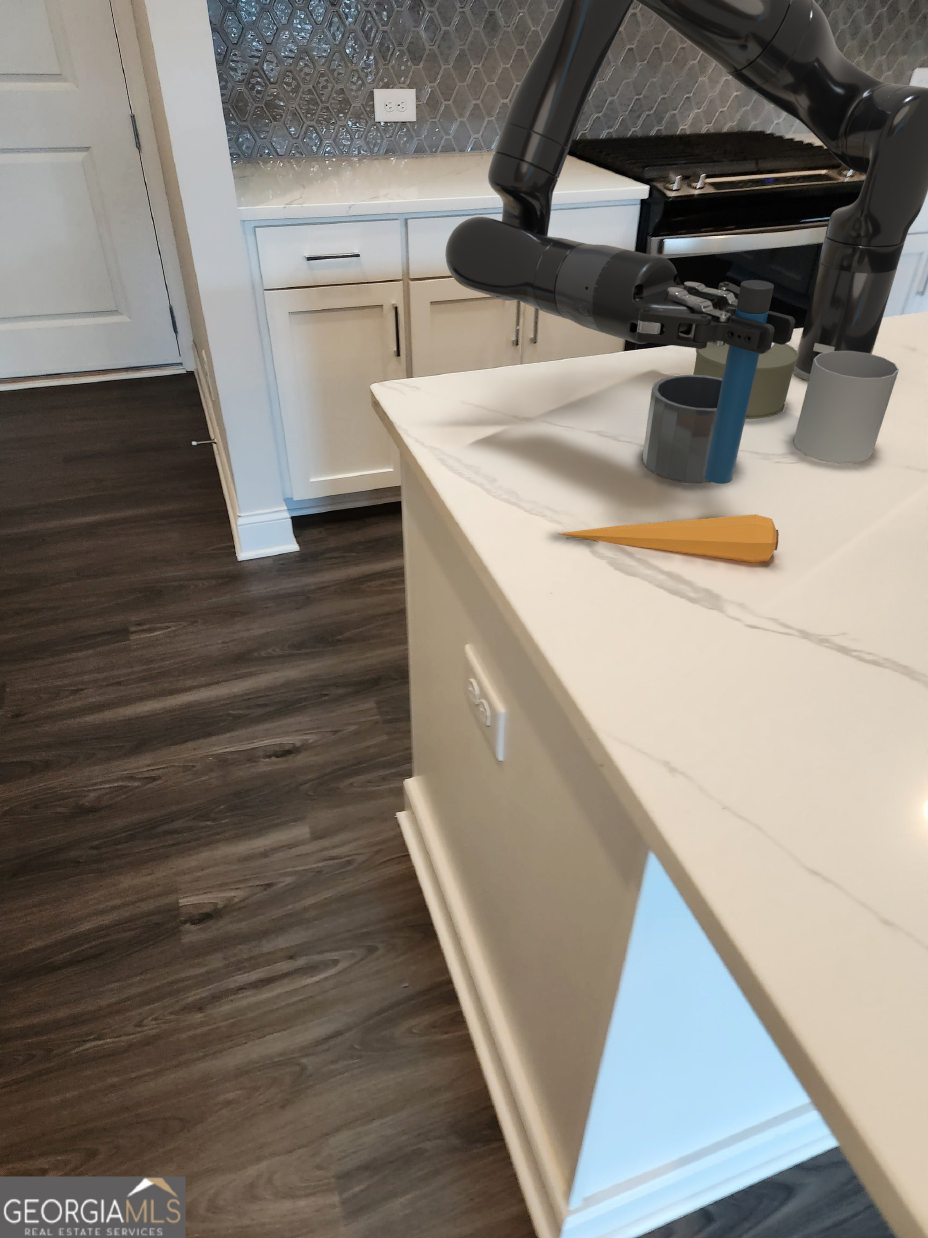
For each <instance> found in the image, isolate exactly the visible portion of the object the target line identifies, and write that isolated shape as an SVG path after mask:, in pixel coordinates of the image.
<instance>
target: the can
mask: <svg viewBox="0 0 928 1238" xmlns="http://www.w3.org/2000/svg"><path fill="white" fill-rule="evenodd" d="M728 348H729V345H728V344H726V343H725V345H723V346H715V345H713V344H710V343H707V347H706V348H703V349H696V348H695V362H694V368H693V374H692V375H706V376H712V377H718V378H722V379H723V374H724V369H725V364H726V358H727V353H728ZM797 352H798V350H796V349H795V348H794V347H793V346H791V345H789V344H788V343H786V344H783V345H780V344H776V343H772V345H771V348H770V350H769V351H767V352H765V353H763V354H760V353H759V358H758V363H757V367H756V372H755V376H754V381H753V386H752V390H751V395H750V399H749V404H748V409H747V413H746V418H745V420H757V419H758V420H759V419H766V418H770V417H773V416H776V415H778V414H780V413H783V412H784V409H785V405H786V404H785V403H786V400H787V397H788V393H789V389H790V385H791V381H792V377H793V374H794V371H793V369H794V366H795V363H796V362H797V359H798V353H797Z"/></svg>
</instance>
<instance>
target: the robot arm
mask: <svg viewBox="0 0 928 1238" xmlns="http://www.w3.org/2000/svg"><path fill="white" fill-rule="evenodd" d="M634 2H636V3H637V4H639V5H641V6H642V7H644V8H646V9H647V10H649V11H650V12H651V13H653V14H654V15H655V16H657V17H658V18H659V19H660V20H662V21H663V22H664V23H665V24H666V25H667V26H668V27H670V29H672V30H673V31H675V33H676V34H678V35H679V36H680V37H682V39H684V40H686V41H687V42H688V43H689V44H691V45H692V46H693V47H694V48H695V49H697V51H700V53H702V54H704V55H705V57H707V58H708V59H710V60H711V61H712V62H713V63H715V65H716V66H718V67H719V68H720V69H721V70H722V71H724V72H726V74H728V75H729V76H730V77H732V78H733V79H735V80H736V81H737V82H739V83H740V84H741V85H743V86H744V87H745V88H747V89H748V90H749V91H751V92H753V93H754V94H756V95H757V96H759V97H761V98H762V99H763V100H765V101H767V103H769V104H771V105H772V106H773V107H775V108H777V109H779V110H780V111H782V112H784V113H786V114H787V115H789V116H791V117H793V118H795V119H796V120H798V121H799V122H800V123H801V124H802V125H803V126H805V127H806V128H807V129H808V130H809V131H810V133H812V134H813V135H814V136H815V137H816V138H817V139H818V141H819V142H821V144H822V145H823V146H824V147H825V148H826V149H827V150H829V152H830V153H831V154H832V155H833V157H835V158H836V159H837V161H839V162H840V163H841V164H842V165H843V166H845V167H846V168H848V169H849V170H851V171H853V172H855V173H858V174H863V175H865V177H864V181H863V184H862V187H861V190H860V192H859V195H858V197H857V199H856V200H855V201H854V202H852V203H851V204H849V205H846V206H841V207H839V208H837V209H835V210H834V211H833V212H832V213H831V214H830V217H829V219H828V223H827V226H826V231H825V235H824V239H823V242H822V247H821V251H820V256H819V260H818V264H817V269H816V273H815V277H814V281H813V285H812V289H811V294H810V297H809V301H808V302H809V303H808V307H807V310H806V314H805V319H804V323H803V327H802V332H801V336H800V340H799V344H798V348H797V353H798V359H797V362H796V363H795V366H794V369H793V374H795V375H796V376H797V377H799V378H801V379H803V380H806V381H809V377H810V373H811V369H812V365H813V361H814V358H816V357H817V356H818V355H819V354H822V353H826V352H831V351H854V352H862V353H869V354H872V355H873V352H874V348H875V345H876V342H877V338H878V335H879V331H880V328H881V325H882V321H883V318H884V314H885V311H886V307H887V305H888V301H889V298H890V294H891V290H892V288H893V283H894V280H895V278H896V274H897V270H898V266H899V263H900V259H901V256H902V253H903V250H904V246H905V243H906V239H907V236H908V233H909V230H910V229H911V227H912V225H913V224H914V222H916V220H917V219H918V216H919V215H920V213H921V211H922V209H923V206H924V203H925V201H926V198H927V196H928V87H926V86H919V85H909V84H901V83H900V84H899V83H892V82H887V81H883V80H880V79H878V78H876V77H874V76H873V75H871V74H870V73H868V72H866V71H864V70H863V69H862V68H860V67H858V66H857V65H856V64H854V63H853V62H851V61H850V60H849V59H848V58H847V57H845V56H844V54H843V53H842V52H841V51H840V49H839V47H838V45H837V43H836V41H835V38H834V34H833V31H832V27H831V26H830V23H829V21H828V18H827V16H826V14H825V13H824V11H823V10H822V8H821V6H819V4H818V3H817V2H816V1H815V0H561V3H560V5H559V8H558V10H557V13H556V15H555V17H554V20H553V22H552V24H551V25H550V27H549V29H548V32H547V33H546V35H545V37H544V40H543V41H542V43H541V44H540V46H539V48H538V50H537V52H536V53H535V55H534V57H533V58H532V60H531V62H530V64H529V66H528V68H527V70H526V71H525V73H524V75H523V77H522V79H521V81H520V82H519V85H518V87H517V88H516V91H515V93H514V96H513V98H512V100H511V102H510V105H509V107H508V110H507V113H506V116H505V119H504V122H503V124H502V128H501V130H500V134H499V137H498V140H497V143H496V146H495V149H494V153H493V155H492V158H491V161H490V165H489V168H488V173H487V180H488V184H489V186H490V188H491V189H492V190H493V192H495V193H496V194H497V195H498V196H499V197H500V199H501V201H502V212H501V220H498V219H495V218H492V217H489V216H488V217H487V216H474V217H470V218H467V219H465V220H463V221H462V222H461V223H459V224H458V225H456V226H455V228H454V229H453V230H452V232H451V234H450V235H449V237H448V239H447V242H446V246H445V251H444V252H445V263H446V266H447V269H448V271H449V273H450V275H451V277H452V278H453V279H454V280H455V281H456V282H457V283H458V284H459V285H460V286H462V287H464V288H465V289H469V290H472V291H474V292H478V293H481V294H483V295H486V296H489V297H493V298H496V299H498V300H501V301H507V302H509V301H511V302H512V301H518V302H521V303H523V304H525V305H528V306H529V307H532V308H535V309H536V310H538V311H541V312H543V313H546V314H550V315H553V316H556V317H559V318H562V319H565V320H569V321H571V322H574V323H575V324H577V325H579V326H581V327H583V328H586V329H589V330H592V331H596V332H599V333H603V334H606V335H608V336H612V337H615V338H618V339H622V340H626V341H628V342H631V343H635V344H641V345H643V344H649V343H650V344H658V345H666V346H674V347H683V348H690V349H695V350H696V349H703V348H706V347H707V343H710V344H713V345H715V346H723V345H725V343H726V344H728V345H731V346H735V347H739V348H742V349H746V350H749V351H753V352H756V353H760V354H763V353H765V352H767V351H769V350H770V348H771V345H772V343H776V344H780V345H783V344H788V343H790V342H791V340H792V339H793V333H794V329H795V325H796V320H795V318H794V317H793V316H791V315H787V314H782V313H780V312H776V311H771V310H769V311H768V316H767V321H766V323H762V322H758V321H755V320H751V319H747V318H742V317H739V316H735V312H736V308H737V301H738V296H739V291H740V286H737V285H736V284H733V283H731V282H729V281H723V282H720V283H719V285H718V289H716V288H712V287H708V286H706V285H705V284H704V283H700V282H697V281H685V282H684V283H683V284H682V283H681V280H680V278H679V276H678V272H677V269H676V267H675V265H674V264H673V263H672V262H671V261H670V259H667V258H665V257H662V256H657V255H654V254H649V253H644V252H640V251H636V250H631V249H626V248H621V247H617V246H612V245H608V244H591V243H585V242H580V241H576V240H571V239H568V238H563V237H555V236H550V235H549V229H550V221H551V214H552V203H553V195H554V191H555V189H556V186H557V184H558V181H559V178H560V176H561V173H562V171H563V169H564V168H563V167H564V165H565V162H566V159H567V157H568V154H569V151H570V148H571V146H572V143H573V140H574V137H575V134H576V132H577V129H578V126H579V123H580V121H581V118H582V116H583V114H584V110H585V108H586V106H587V103H588V101H589V98H590V95H591V93H592V91H593V88H594V86H595V84H596V81H597V79H598V77H599V74H600V72H601V70H602V68H603V66H604V64H605V62H606V59H607V57H608V55H609V53H610V50H611V48H612V46H613V44H614V42H615V41H616V38H617V36H618V34H619V32H620V30H621V28H622V26H623V24H624V21H625V19H626V18H627V15H628V13H629V12H630V10H631V8H632V5H633V3H634Z"/></svg>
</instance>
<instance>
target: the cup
mask: <svg viewBox="0 0 928 1238" xmlns="http://www.w3.org/2000/svg"><path fill="white" fill-rule="evenodd" d="M899 371H900V369H899V367H898V366H897V364H896V363H895V362H893V361H891V360H889V359H887V358H885V357H882V356H879V355H876V354H873V353H872V354H869V353H862V352H854V351H831V352H826V353H822V354H819V355H818V356H817V357H816V358H814V361H813V365H812V369H811V373H810V377H809V380H807V386H806V388H805V393H804V397H803V400H802V401H803V402H802V406H801V410H800V414H799V418H798V421H797V425H796V428H795V432H794V437H793V444H794V448H795V449H797V451H799V452H800V453H801V454H803V455H804V456H807V457H810V458H812V459H814V460H817V461H819V462H826V463H832V464H839V465H841V464H843V465H844V464H846V465H847V464H858V463H862V462H865V461H868V460H869V459H870V458H871V456H872V455H873V454H874V450H875V447H876V443H877V441H878V437H879V434H880V431H881V428H882V425H883V421H884V418H885V415H886V413H887V410H888V406H889V403H890V400H891V396H892V394H893V390H894V387H895V383H896V381H897V378H898V374H899Z"/></svg>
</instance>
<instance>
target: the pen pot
mask: <svg viewBox="0 0 928 1238" xmlns="http://www.w3.org/2000/svg"><path fill="white" fill-rule="evenodd" d="M721 384H722V378H718V377H712V376H706V375H693V374H679V375H671V376H667V377H664V378H661V379H659V380H658V381H656V382H655V383H653V385H652V388H651V394H650V400H649V406H648V407H649V408H648V414H647V422H646V430H645V436H644V444H643V452H642V462H643V465H644V466H645V467H646V469H648V470H649V471H651V473H653V474H655V475H657V476H659V477H662V478H664V479H667V480H671V481H675V482H680V483H687V484H706V483H711V482H710V481H708V480H706V479H705V477H704V472H705V467H706V462H707V457H708V451H709V446H710V441H711V436H712V431H713V426H714V420H715V415H716V410H717V405H718V400H719V395H720V389H721Z"/></svg>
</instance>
